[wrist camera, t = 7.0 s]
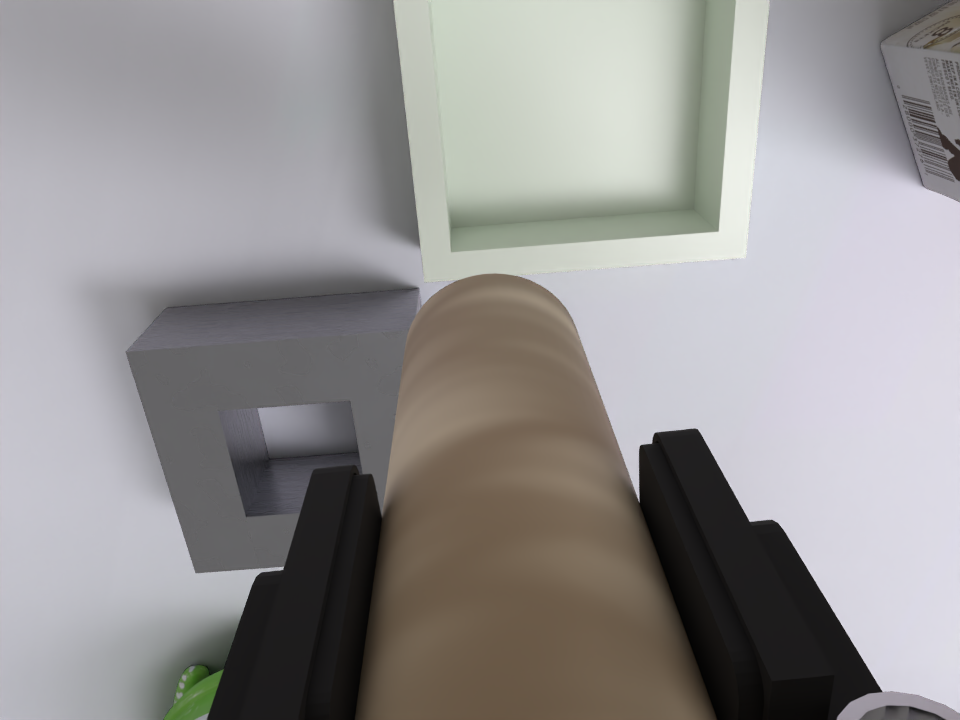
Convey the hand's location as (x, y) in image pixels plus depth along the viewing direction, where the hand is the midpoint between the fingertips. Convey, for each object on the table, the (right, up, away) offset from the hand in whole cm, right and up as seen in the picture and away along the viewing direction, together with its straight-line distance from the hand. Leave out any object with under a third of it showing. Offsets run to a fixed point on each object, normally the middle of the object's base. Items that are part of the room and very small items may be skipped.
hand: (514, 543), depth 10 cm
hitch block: (-8, 0, +21) cm, 23 cm away
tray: (+3, +12, +16) cm, 20 cm away
